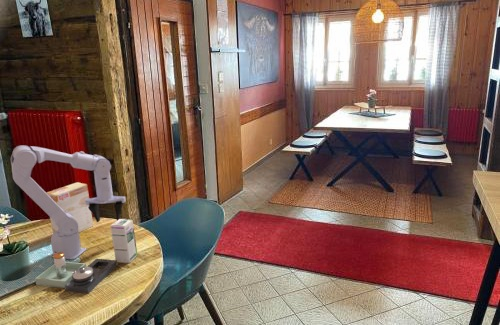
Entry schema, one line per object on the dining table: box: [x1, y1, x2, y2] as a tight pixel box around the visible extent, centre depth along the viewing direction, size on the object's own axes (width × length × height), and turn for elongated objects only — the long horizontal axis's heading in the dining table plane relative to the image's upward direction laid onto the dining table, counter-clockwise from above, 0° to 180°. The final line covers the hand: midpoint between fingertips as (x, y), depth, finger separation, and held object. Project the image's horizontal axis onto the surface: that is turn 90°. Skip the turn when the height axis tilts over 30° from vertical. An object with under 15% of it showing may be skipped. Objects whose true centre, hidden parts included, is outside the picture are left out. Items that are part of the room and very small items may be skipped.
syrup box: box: [109, 218, 138, 264], centre depth 138 cm, size 6×6×14 cm
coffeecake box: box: [46, 181, 94, 234], centre depth 161 cm, size 15×7×20 cm, turn 150°
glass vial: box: [52, 252, 67, 279], centre depth 128 cm, size 3×3×8 cm
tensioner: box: [64, 258, 118, 294], centre depth 127 cm, size 8×17×6 cm, turn 168°
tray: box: [34, 261, 87, 289], centre depth 128 cm, size 11×11×2 cm
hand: (108, 220), depth 150 cm, fingers open, 7 cm apart
